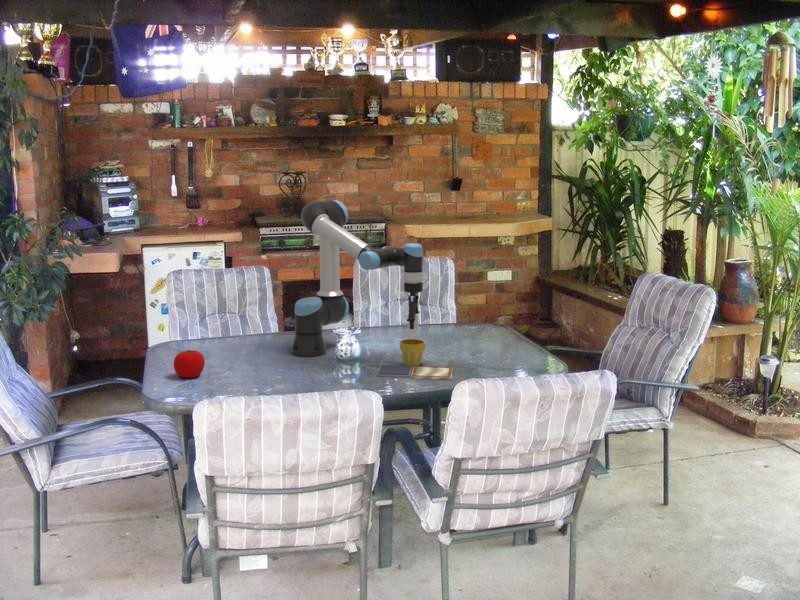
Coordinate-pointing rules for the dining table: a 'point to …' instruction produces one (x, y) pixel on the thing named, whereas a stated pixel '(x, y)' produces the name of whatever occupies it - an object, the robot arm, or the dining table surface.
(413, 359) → the plant pot
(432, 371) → the board
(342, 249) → the robot arm
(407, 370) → the ink pad
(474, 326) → the dining table surface
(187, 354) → the tomato
